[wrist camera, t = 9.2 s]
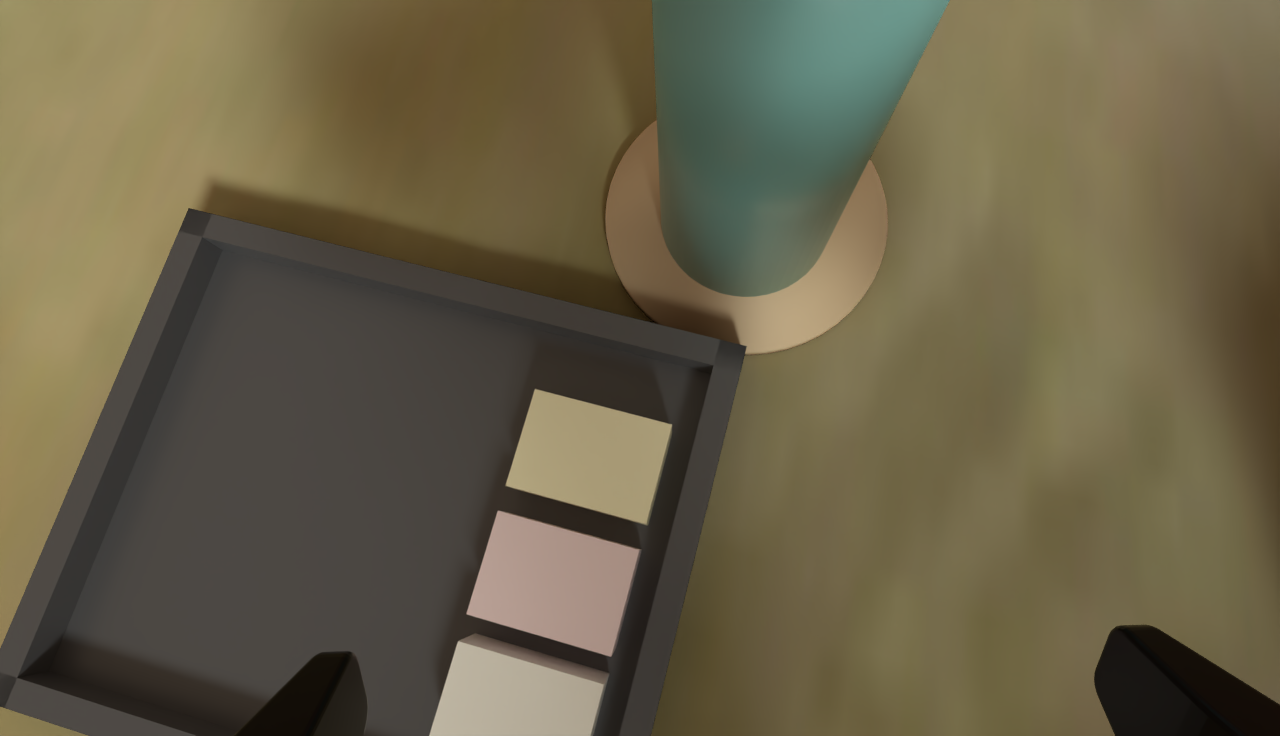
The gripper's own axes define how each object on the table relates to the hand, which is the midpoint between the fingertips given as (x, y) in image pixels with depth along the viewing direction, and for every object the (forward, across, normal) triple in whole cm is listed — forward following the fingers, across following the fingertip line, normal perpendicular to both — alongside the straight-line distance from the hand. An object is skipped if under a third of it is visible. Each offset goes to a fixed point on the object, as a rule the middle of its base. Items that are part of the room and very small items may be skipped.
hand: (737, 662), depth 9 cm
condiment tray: (+12, +8, +7) cm, 16 cm away
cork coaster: (+18, -3, 0) cm, 18 cm away
